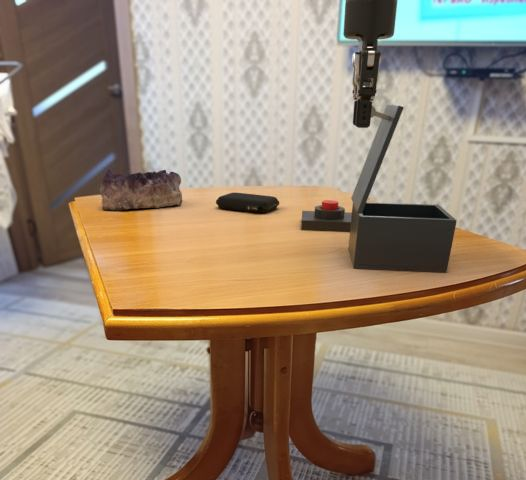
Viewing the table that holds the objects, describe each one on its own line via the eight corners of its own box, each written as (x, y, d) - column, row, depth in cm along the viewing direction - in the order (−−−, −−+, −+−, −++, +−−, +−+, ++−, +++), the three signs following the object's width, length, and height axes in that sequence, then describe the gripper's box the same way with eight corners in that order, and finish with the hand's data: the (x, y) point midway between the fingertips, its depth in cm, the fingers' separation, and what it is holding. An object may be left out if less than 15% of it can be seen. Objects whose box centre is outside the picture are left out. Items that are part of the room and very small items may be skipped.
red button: (337, 208, 113) (338, 200, 113) (338, 211, 110) (338, 203, 109) (321, 207, 114) (321, 199, 113) (321, 211, 110) (322, 203, 110)
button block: (353, 222, 118) (355, 204, 116) (357, 232, 109) (359, 213, 107) (301, 220, 118) (302, 202, 117) (301, 230, 109) (302, 211, 108)
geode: (112, 215, 118) (103, 170, 115) (97, 213, 127) (88, 171, 124) (190, 204, 128) (184, 162, 125) (171, 202, 138) (165, 163, 134)
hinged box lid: (391, 105, 86) (363, 95, 86) (404, 107, 75) (372, 96, 74) (355, 199, 93) (329, 191, 93) (361, 214, 82) (332, 204, 82)
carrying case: (210, 209, 126) (264, 216, 121) (210, 197, 125) (264, 203, 120) (230, 202, 135) (281, 208, 130) (230, 190, 134) (282, 196, 128)
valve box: (430, 251, 97) (438, 204, 93) (446, 272, 85) (456, 220, 81) (348, 248, 98) (352, 201, 94) (353, 268, 86) (358, 216, 82)
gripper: (405, -9, 68) (390, 129, 76) (390, 7, 81) (378, 124, 88) (349, -9, 68) (339, 129, 76) (342, 7, 81) (335, 124, 89)
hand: (360, 126), depth 82 cm, fingers closed on hinged box lid, 5 cm apart
